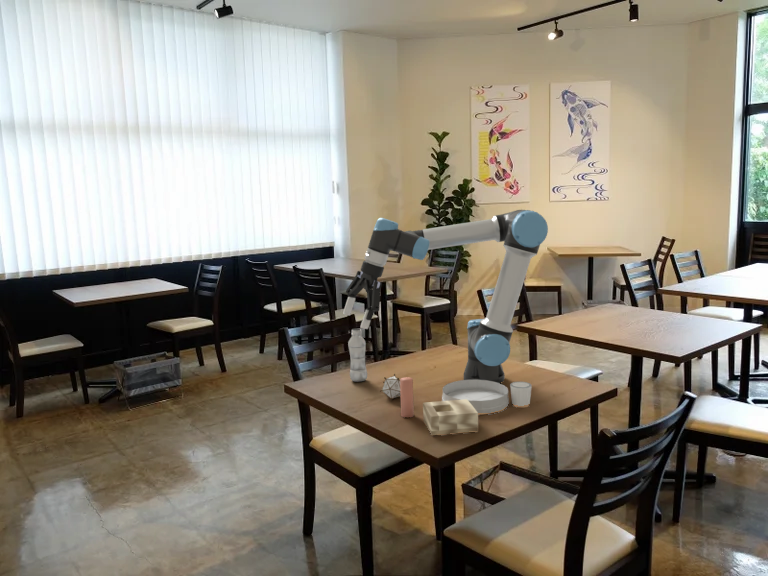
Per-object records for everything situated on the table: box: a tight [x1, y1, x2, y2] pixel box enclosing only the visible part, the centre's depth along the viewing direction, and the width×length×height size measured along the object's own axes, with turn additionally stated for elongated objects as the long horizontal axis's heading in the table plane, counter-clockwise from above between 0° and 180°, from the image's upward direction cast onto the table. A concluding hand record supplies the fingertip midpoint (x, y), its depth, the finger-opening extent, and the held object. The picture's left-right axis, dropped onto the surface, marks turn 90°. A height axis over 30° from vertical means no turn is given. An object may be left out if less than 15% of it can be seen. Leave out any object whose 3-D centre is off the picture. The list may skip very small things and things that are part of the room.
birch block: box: [422, 399, 479, 436], centre depth 184 cm, size 14×12×6 cm
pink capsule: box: [399, 376, 415, 418], centre depth 194 cm, size 4×4×12 cm
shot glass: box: [509, 381, 533, 406], centre depth 200 cm, size 7×7×7 cm
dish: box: [441, 379, 510, 413], centre depth 203 cm, size 22×22×5 cm
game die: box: [379, 373, 401, 402], centre depth 210 cm, size 9×8×10 cm
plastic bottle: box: [347, 328, 368, 383], centre depth 230 cm, size 6×7×20 cm
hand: (354, 321), depth 210 cm, fingers open, 13 cm apart
